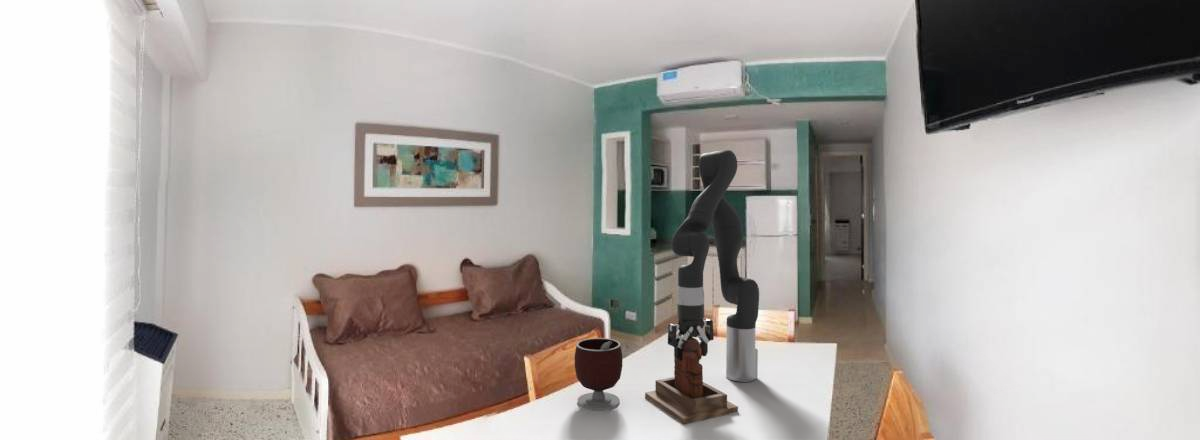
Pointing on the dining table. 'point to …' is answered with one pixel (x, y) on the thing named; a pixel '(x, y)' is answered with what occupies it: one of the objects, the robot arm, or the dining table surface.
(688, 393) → the wooden figurine
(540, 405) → the dining table surface
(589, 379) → the mate gourd
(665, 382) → the cradle
